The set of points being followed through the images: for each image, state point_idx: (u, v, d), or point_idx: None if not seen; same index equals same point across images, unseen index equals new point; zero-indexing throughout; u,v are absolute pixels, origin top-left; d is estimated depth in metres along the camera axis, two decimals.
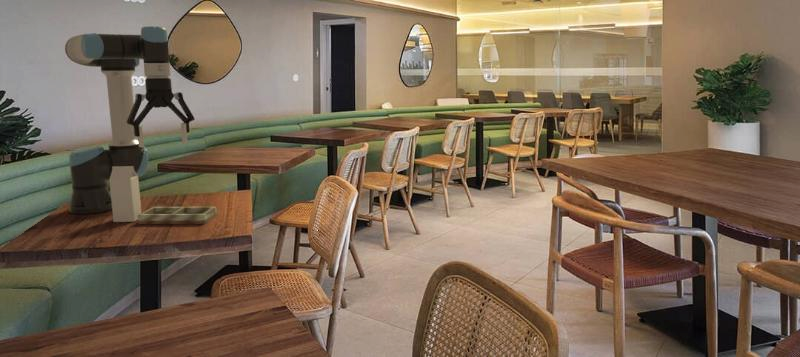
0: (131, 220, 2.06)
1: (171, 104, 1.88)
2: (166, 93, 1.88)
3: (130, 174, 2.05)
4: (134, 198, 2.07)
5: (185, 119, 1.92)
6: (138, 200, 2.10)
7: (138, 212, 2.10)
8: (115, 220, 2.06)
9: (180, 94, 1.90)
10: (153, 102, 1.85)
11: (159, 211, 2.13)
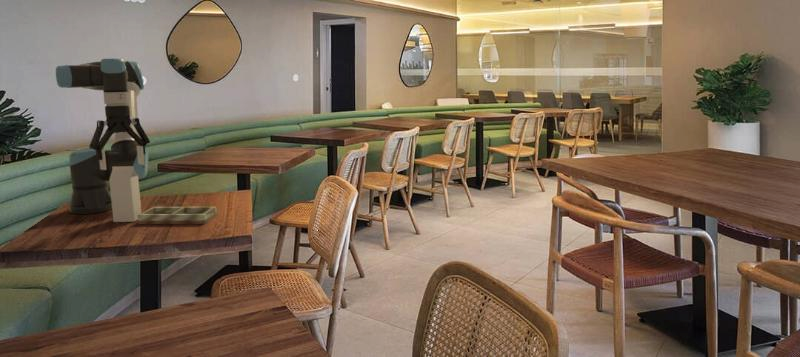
0: (131, 220, 2.06)
1: (130, 129, 2.05)
2: (125, 119, 2.04)
3: (130, 174, 2.05)
4: (134, 198, 2.07)
5: (142, 142, 2.09)
6: (138, 200, 2.10)
7: (138, 212, 2.10)
8: (115, 220, 2.06)
9: (137, 119, 2.07)
10: (114, 128, 2.00)
11: (159, 211, 2.13)
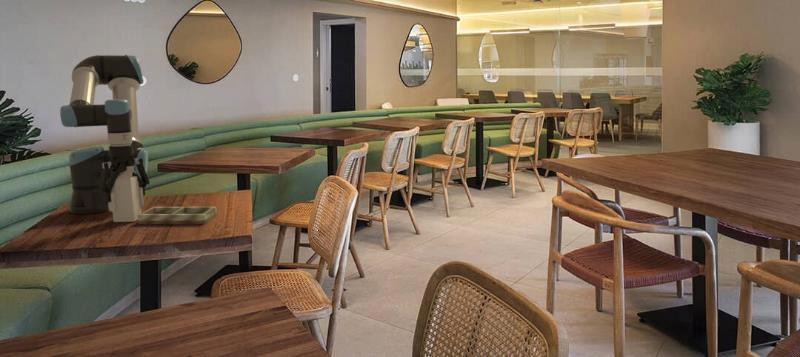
0: (131, 220, 2.06)
1: None
2: (129, 158, 2.06)
3: (130, 174, 2.05)
4: (134, 198, 2.07)
5: (142, 183, 2.11)
6: (138, 200, 2.10)
7: (138, 212, 2.10)
8: (115, 220, 2.06)
9: (141, 160, 2.10)
10: (119, 168, 2.03)
11: (159, 211, 2.13)
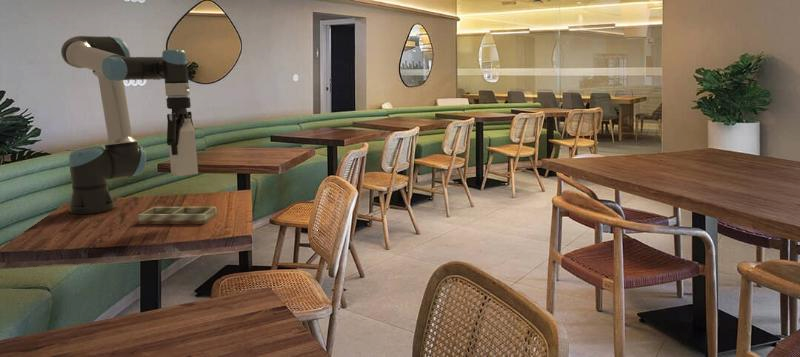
0: (195, 172, 2.04)
1: None
2: (185, 110, 2.04)
3: (191, 126, 2.03)
4: None
5: None
6: None
7: None
8: (179, 174, 2.01)
9: (190, 113, 2.08)
10: (182, 120, 2.00)
11: (159, 211, 2.13)
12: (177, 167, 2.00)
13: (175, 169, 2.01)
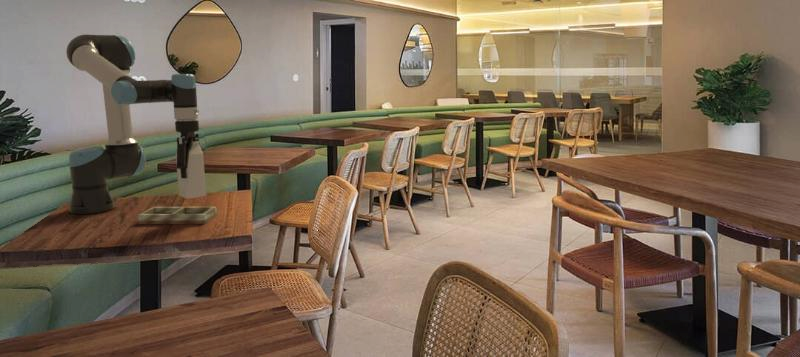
0: (203, 195, 2.06)
1: None
2: (193, 133, 2.05)
3: (199, 148, 2.05)
4: None
5: None
6: None
7: None
8: (188, 196, 2.03)
9: (198, 135, 2.10)
10: (190, 143, 2.02)
11: (159, 211, 2.13)
12: (186, 190, 2.02)
13: (184, 192, 2.03)
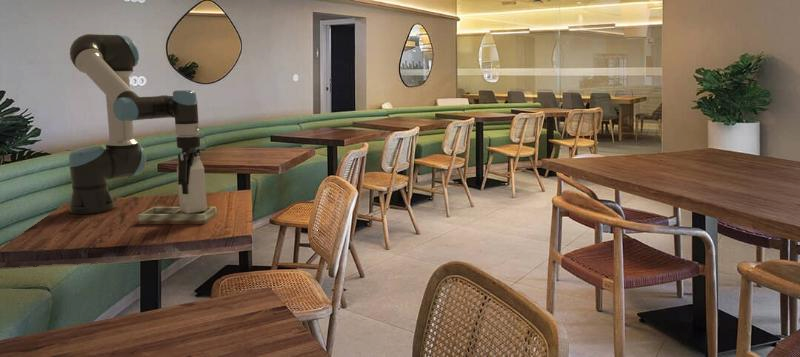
0: (204, 209, 2.07)
1: None
2: (194, 148, 2.06)
3: (200, 163, 2.06)
4: None
5: None
6: None
7: None
8: (189, 211, 2.04)
9: (199, 150, 2.11)
10: (192, 159, 2.03)
11: (159, 211, 2.13)
12: (187, 205, 2.03)
13: (185, 206, 2.04)
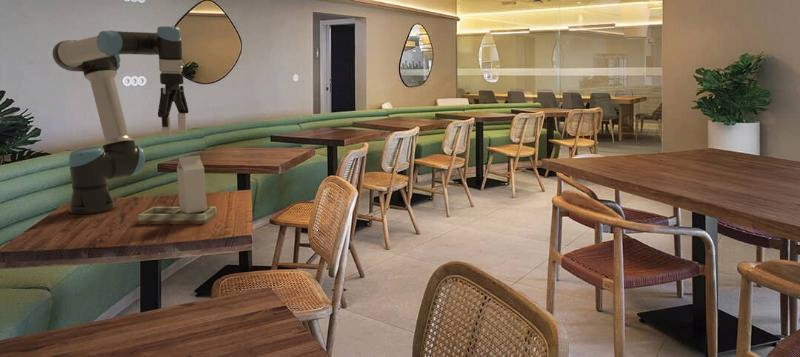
0: (204, 209, 2.07)
1: (181, 96, 2.10)
2: (177, 87, 2.09)
3: (200, 163, 2.06)
4: None
5: (185, 110, 2.15)
6: None
7: None
8: (189, 211, 2.04)
9: (182, 87, 2.13)
10: (174, 95, 2.05)
11: (159, 211, 2.13)
12: (187, 205, 2.03)
13: (185, 206, 2.04)
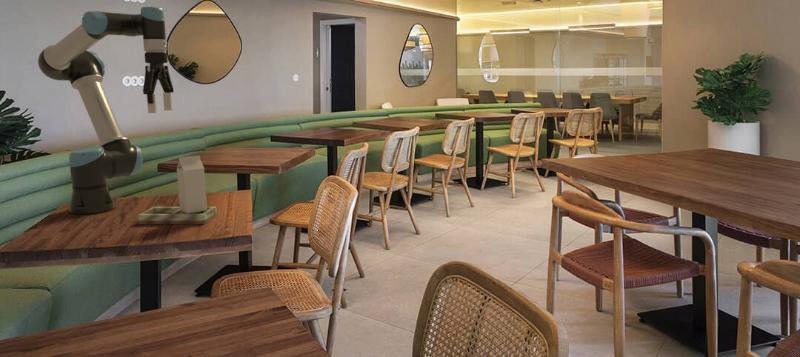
0: (204, 209, 2.07)
1: (165, 75, 2.17)
2: (162, 66, 2.15)
3: (200, 163, 2.06)
4: None
5: (170, 89, 2.22)
6: None
7: None
8: (189, 211, 2.04)
9: (167, 67, 2.20)
10: (159, 73, 2.12)
11: (159, 211, 2.13)
12: (187, 205, 2.03)
13: (185, 206, 2.04)
